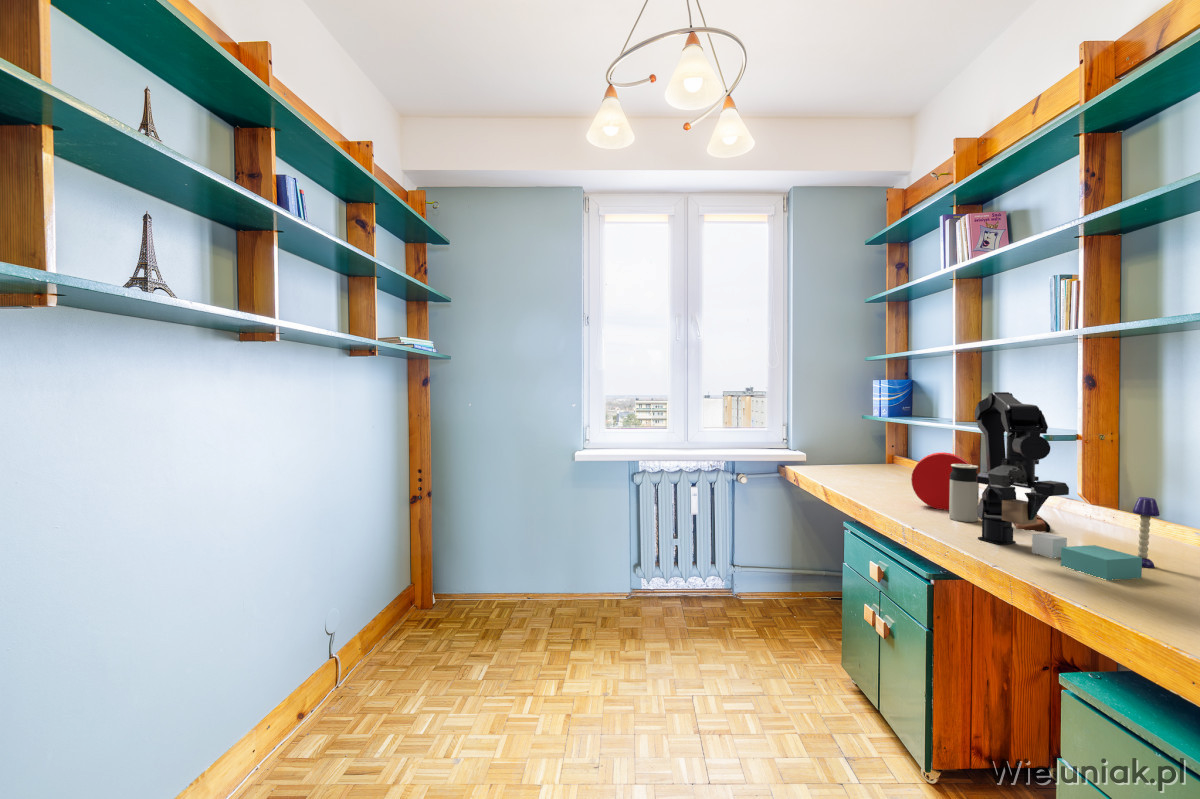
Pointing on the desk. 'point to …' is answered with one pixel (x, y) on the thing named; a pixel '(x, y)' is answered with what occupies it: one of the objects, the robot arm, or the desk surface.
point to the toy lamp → (1145, 526)
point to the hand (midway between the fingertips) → (1019, 517)
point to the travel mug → (963, 493)
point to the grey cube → (1048, 544)
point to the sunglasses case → (1035, 525)
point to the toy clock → (935, 478)
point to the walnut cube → (1016, 512)
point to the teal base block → (1102, 562)
